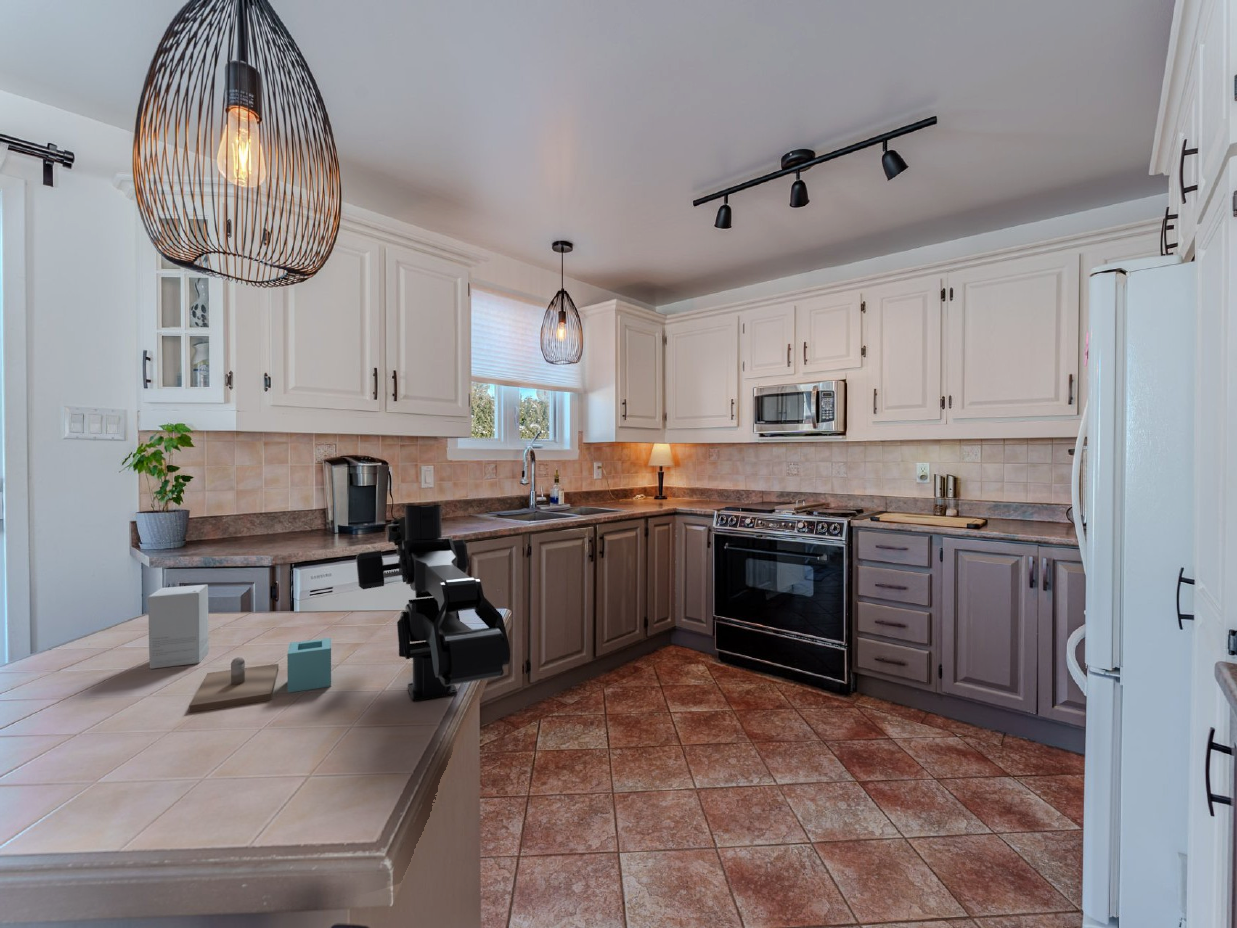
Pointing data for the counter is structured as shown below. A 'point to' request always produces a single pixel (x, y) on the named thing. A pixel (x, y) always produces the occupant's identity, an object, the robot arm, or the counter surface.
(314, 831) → the counter surface
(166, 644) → the supplement box
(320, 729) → the counter surface
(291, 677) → the square socket block
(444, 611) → the robot arm
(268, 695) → the pin plate
